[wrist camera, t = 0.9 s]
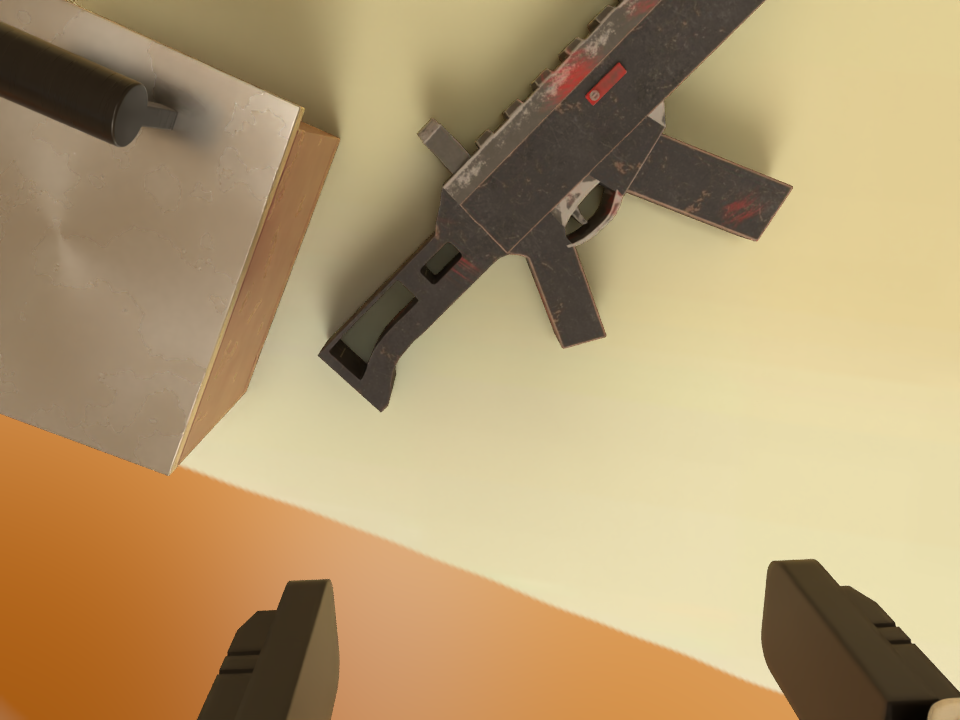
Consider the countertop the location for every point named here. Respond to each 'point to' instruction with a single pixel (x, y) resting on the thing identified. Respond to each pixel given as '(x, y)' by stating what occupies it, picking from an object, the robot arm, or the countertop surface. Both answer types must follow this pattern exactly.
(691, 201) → the toy gun
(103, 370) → the lid
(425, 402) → the countertop surface
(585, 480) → the countertop surface
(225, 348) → the open wooden cubby
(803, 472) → the countertop surface
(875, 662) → the robot arm
